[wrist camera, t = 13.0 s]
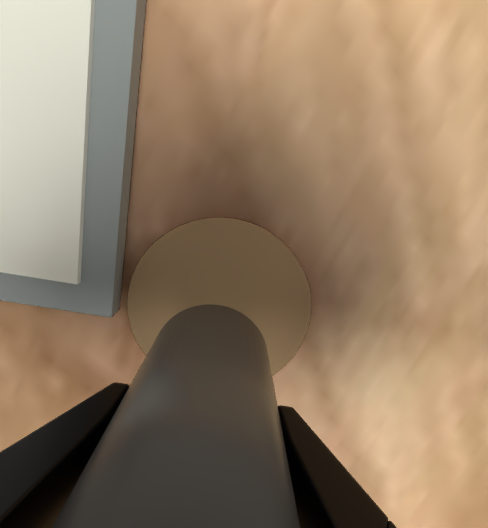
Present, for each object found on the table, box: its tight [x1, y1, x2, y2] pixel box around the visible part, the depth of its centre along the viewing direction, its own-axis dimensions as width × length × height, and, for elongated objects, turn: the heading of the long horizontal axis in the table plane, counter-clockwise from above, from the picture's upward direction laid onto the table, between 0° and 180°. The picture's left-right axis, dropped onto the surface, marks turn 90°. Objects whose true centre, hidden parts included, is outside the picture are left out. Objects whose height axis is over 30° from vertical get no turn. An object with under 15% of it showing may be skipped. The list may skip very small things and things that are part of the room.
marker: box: [52, 304, 300, 528], centre depth 7 cm, size 4×4×10 cm
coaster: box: [127, 217, 312, 375], centre depth 15 cm, size 9×9×1 cm
